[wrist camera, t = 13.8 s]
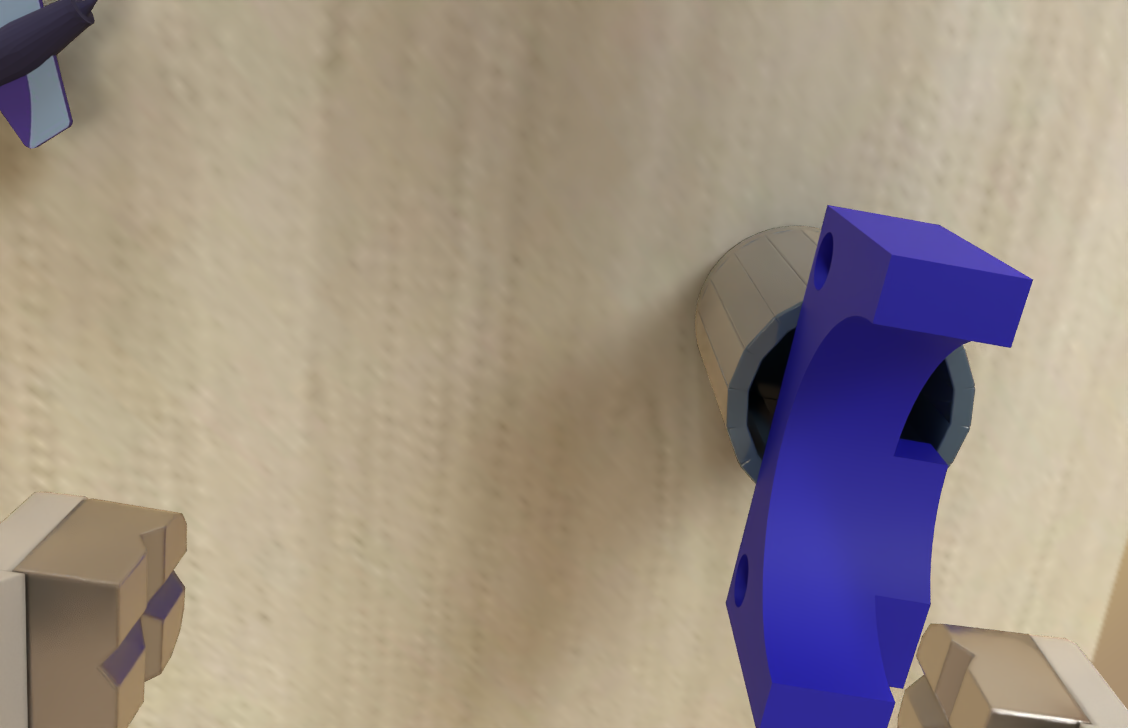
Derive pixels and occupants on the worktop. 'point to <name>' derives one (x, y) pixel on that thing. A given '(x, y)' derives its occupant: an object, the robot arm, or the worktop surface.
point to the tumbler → (764, 338)
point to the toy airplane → (37, 64)
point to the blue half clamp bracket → (856, 469)
